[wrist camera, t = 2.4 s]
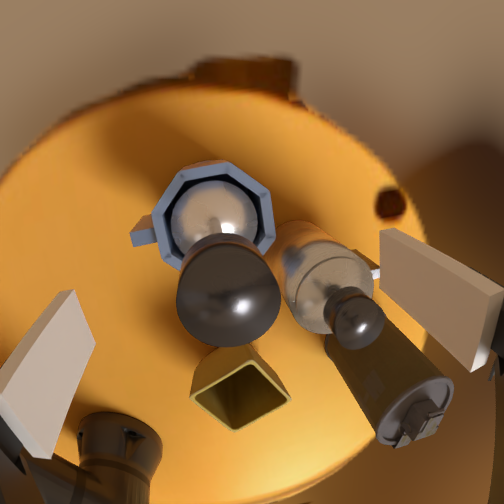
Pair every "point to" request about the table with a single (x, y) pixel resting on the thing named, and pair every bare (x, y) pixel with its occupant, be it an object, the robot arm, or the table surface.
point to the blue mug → (159, 221)
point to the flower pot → (237, 387)
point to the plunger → (222, 267)
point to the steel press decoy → (326, 284)
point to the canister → (393, 385)
